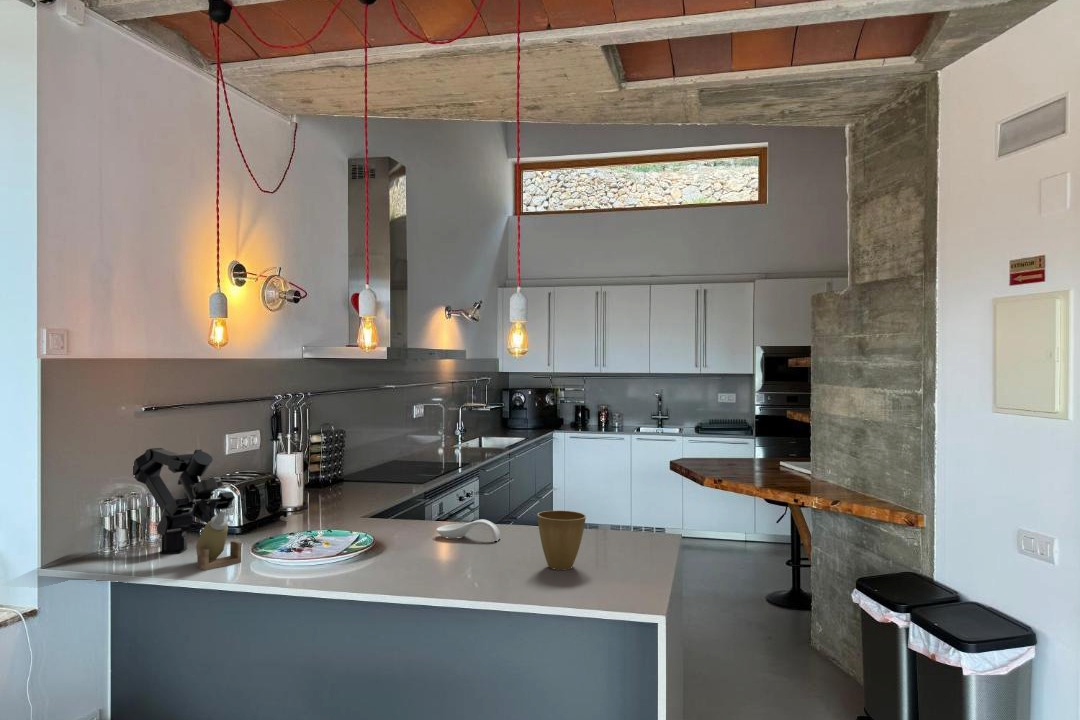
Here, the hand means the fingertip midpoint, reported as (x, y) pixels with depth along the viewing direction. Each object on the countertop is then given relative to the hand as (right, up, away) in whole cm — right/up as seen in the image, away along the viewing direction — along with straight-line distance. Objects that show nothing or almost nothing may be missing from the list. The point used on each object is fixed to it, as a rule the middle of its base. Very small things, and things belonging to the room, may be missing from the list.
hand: (212, 524), depth 219 cm
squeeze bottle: (-2, -10, +1) cm, 10 cm away
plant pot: (+107, -13, -1) cm, 108 cm away
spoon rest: (+75, -14, +36) cm, 84 cm away
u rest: (+3, -12, -3) cm, 12 cm away
